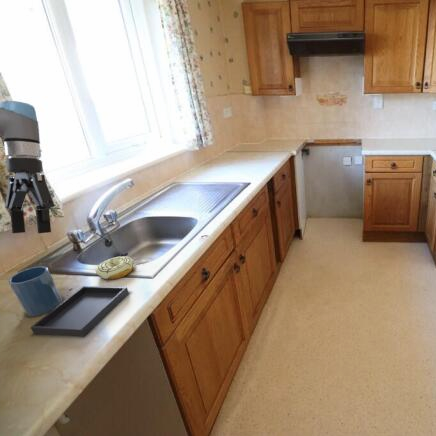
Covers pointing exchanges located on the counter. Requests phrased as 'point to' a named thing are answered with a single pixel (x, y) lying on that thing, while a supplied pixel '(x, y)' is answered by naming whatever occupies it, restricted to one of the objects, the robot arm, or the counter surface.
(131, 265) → the decorated donut
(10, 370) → the counter surface
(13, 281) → the tea cup
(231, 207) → the counter surface
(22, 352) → the counter surface
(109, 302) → the serving tray
